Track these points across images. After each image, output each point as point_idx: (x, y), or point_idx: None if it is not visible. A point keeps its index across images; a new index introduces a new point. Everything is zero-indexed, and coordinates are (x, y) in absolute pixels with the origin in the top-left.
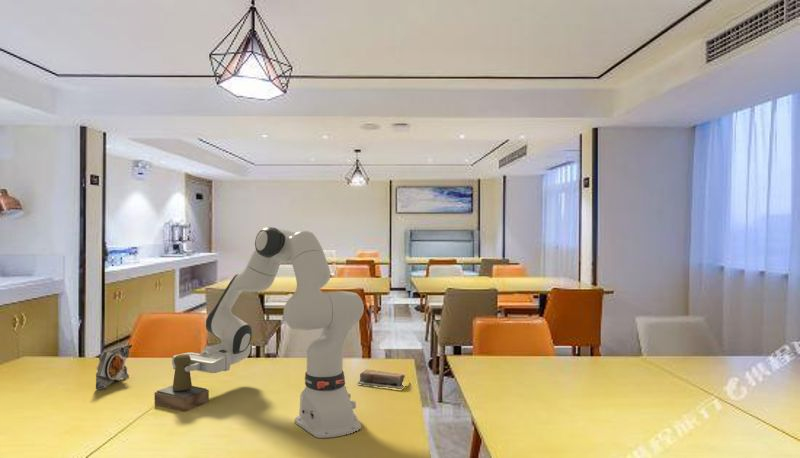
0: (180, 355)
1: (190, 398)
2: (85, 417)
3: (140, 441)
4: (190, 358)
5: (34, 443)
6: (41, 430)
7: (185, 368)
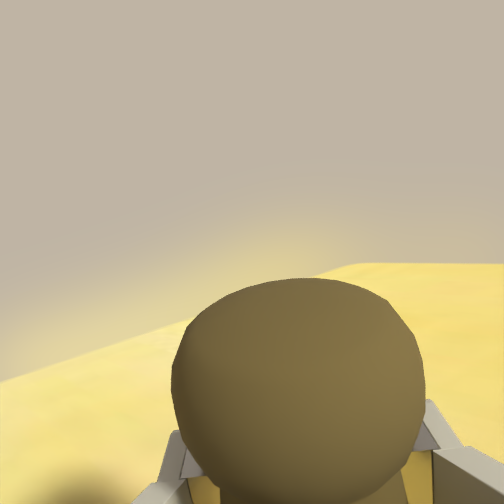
0: (283, 288)
1: None
2: (481, 342)
3: (137, 364)
4: (195, 431)
5: (356, 278)
6: (436, 287)
7: None
